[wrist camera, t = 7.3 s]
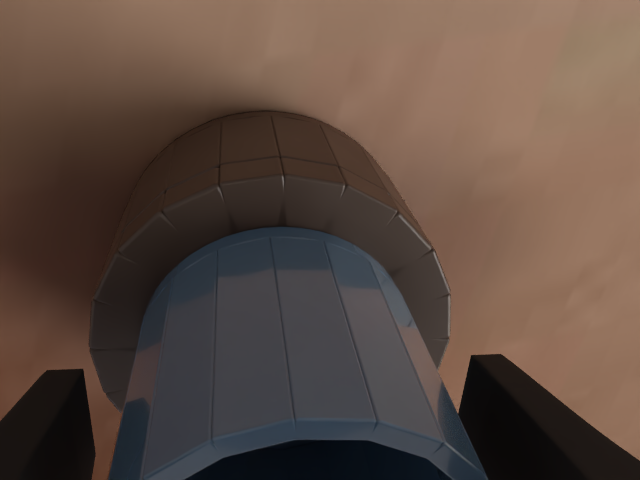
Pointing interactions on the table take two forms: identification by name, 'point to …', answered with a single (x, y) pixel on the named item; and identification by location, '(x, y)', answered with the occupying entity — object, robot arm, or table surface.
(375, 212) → the brown short cylinder
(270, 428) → the cup
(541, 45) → the table surface
